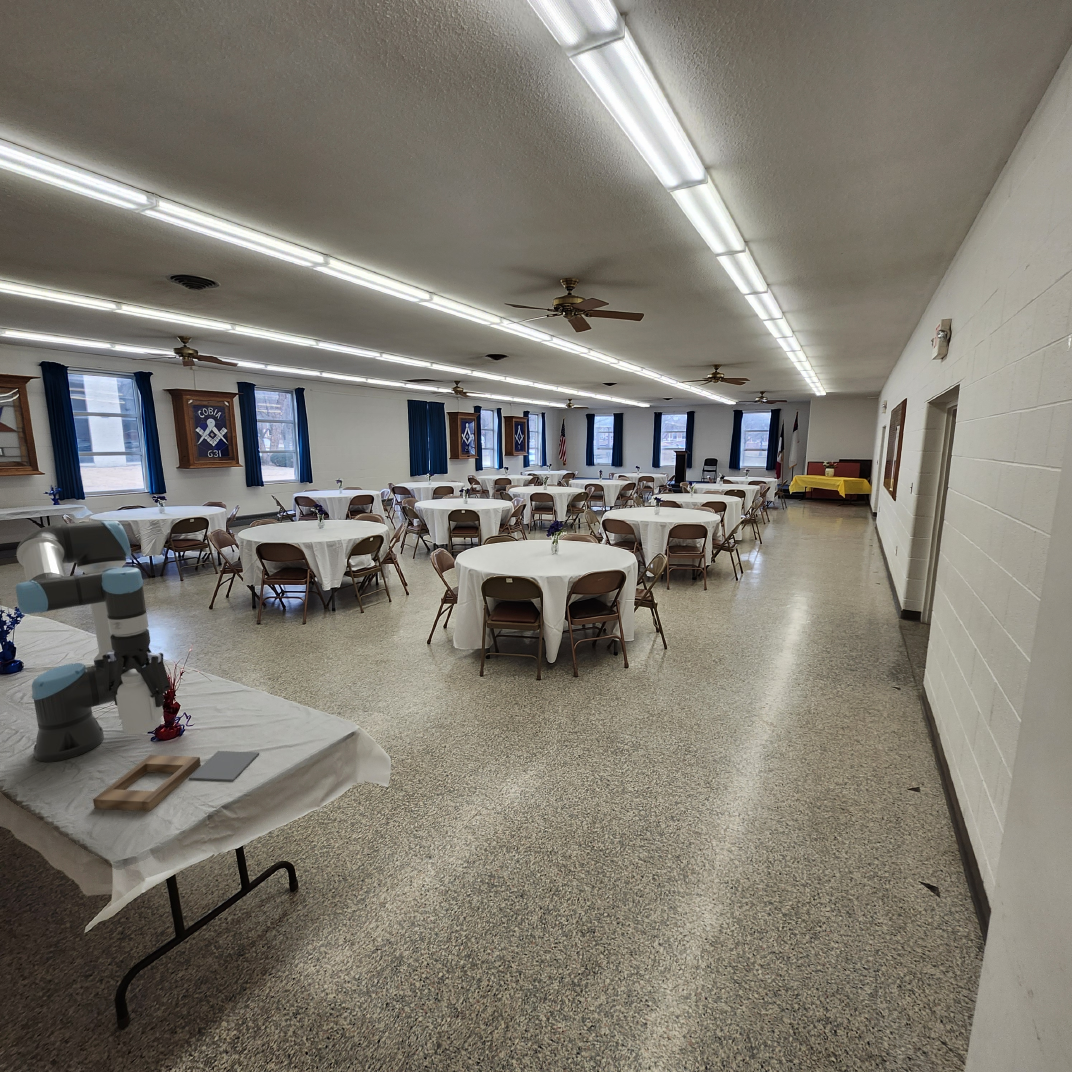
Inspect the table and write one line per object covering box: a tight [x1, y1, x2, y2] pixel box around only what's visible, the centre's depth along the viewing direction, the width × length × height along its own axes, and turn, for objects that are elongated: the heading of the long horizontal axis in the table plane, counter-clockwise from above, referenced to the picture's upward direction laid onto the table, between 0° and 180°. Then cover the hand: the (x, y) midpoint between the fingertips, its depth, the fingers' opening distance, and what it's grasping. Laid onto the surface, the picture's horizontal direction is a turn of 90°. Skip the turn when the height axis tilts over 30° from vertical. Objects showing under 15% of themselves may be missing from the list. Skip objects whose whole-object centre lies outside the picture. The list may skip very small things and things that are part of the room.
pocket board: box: [92, 754, 202, 812], centre depth 136 cm, size 14×18×2 cm
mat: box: [188, 750, 260, 782], centre depth 144 cm, size 12×12×1 cm
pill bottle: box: [117, 669, 162, 736], centre depth 132 cm, size 8×8×15 cm
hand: (141, 717), depth 133 cm, fingers closed on pill bottle, 8 cm apart
